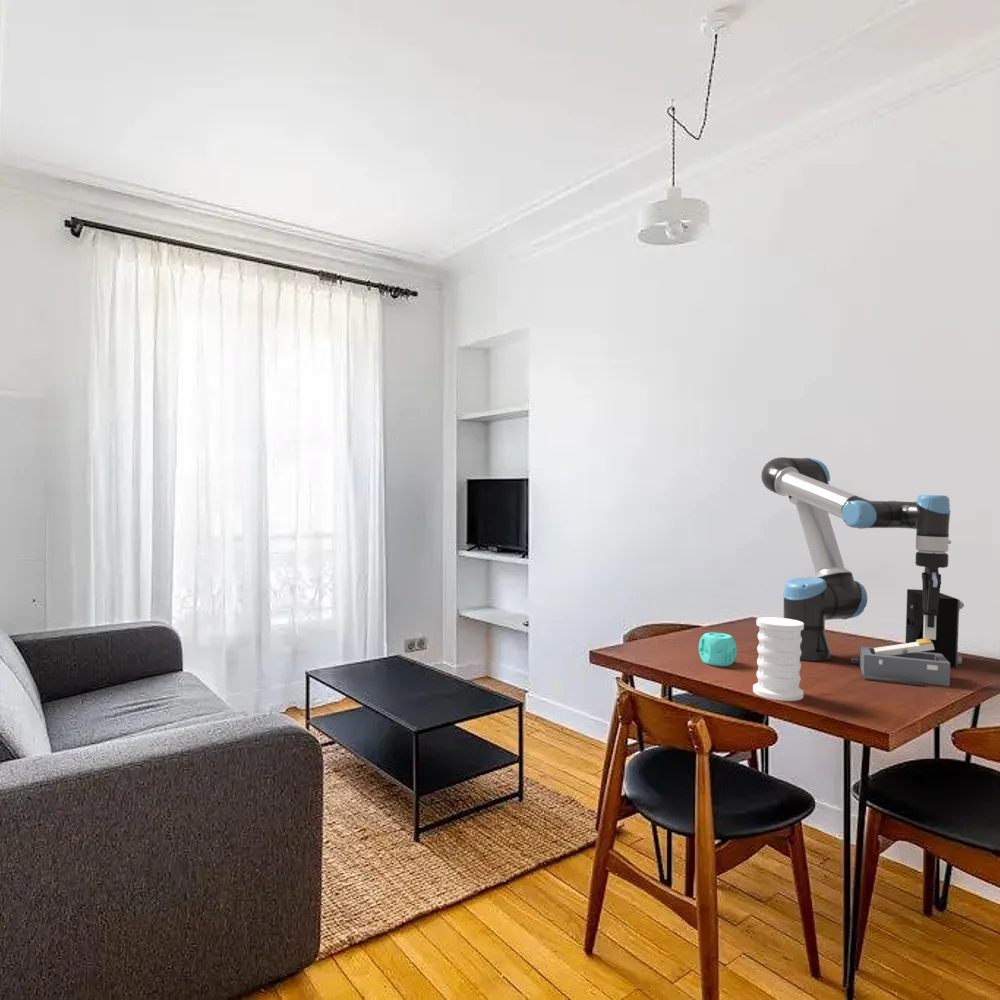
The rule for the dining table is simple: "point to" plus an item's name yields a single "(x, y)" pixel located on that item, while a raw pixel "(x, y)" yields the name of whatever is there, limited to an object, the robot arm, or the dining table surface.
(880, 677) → the dark grey thin bar
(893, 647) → the rocker
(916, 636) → the electrical component
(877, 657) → the breaker housing
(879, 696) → the dining table surface
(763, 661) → the decorative container
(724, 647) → the decorative dice
